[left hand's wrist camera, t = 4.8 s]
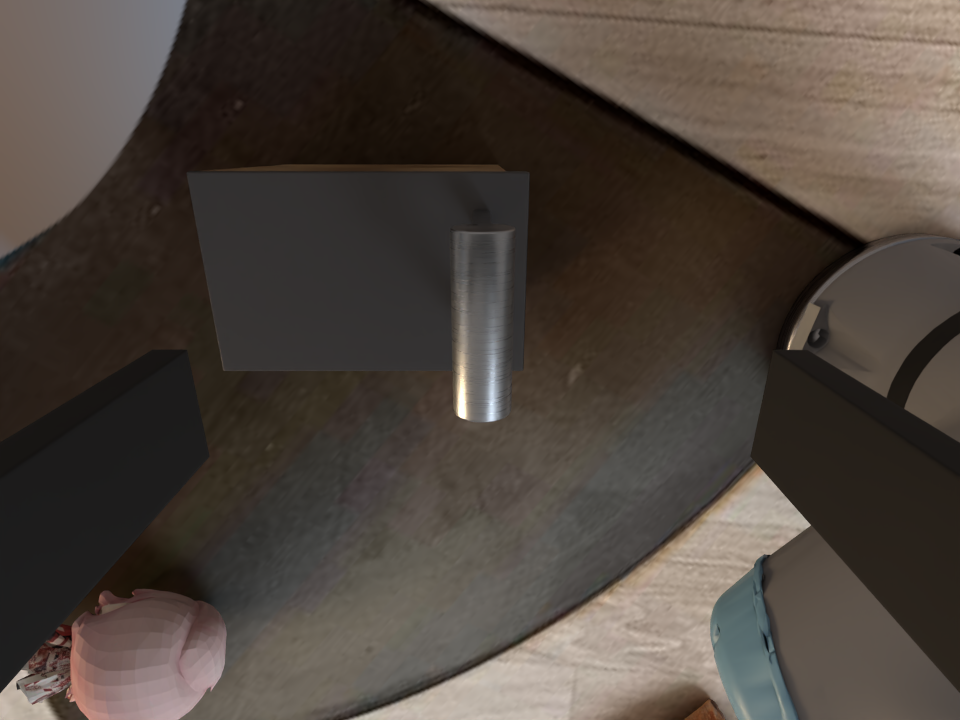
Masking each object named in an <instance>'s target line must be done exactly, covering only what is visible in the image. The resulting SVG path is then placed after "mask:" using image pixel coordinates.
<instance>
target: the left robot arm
mask: <svg viewBox="0 0 960 720" xmlns="http://www.w3.org/2000/svg"><path fill="white" fill-rule="evenodd" d="M208 458H209V452H208V447H207V442H206V438H205V433H204V428H203V424H202V419H201V414H200V409H199V405H198V400H197V395H196V390H195V386H194V381H193V376H192V372H191V367H190V362H189V357H188V353H187V350H152V351H150V352H148V353H147V354H145V355H143V356H142V357H140V358H138V359H137V360H135V361H134V362H132V363H130V364H129V365H127V366H125V367H124V368H122V369H120V370H119V371H117V372H115V373H114V374H112V375H111V376H109V377H107V378H106V379H104V380H102V381H101V382H99V383H97V384H96V385H94V386H92V387H91V388H89V389H88V390H86V391H84V392H83V393H81V394H79V395H78V396H76V397H74V398H73V399H71V400H69V401H68V402H66V403H65V404H63V405H61V406H60V407H58V408H56V409H55V410H53V411H51V412H50V413H48V414H46V415H45V416H43V417H42V418H40V419H38V420H37V421H35V422H33V423H32V424H30V425H28V426H27V427H25V428H23V429H22V430H20V431H19V432H17V433H15V434H14V435H12V436H10V437H9V438H7V439H5V440H4V441H2V442H0V693H1V692H2V691H3V689H4V688H5V687H6V686H7V685H8V684H9V683H10V681H11V680H12V679H13V678H14V677H15V676H16V675H17V674H18V672H19V671H20V670H21V669H22V668H23V667H24V666H25V665H26V663H27V662H28V661H29V660H30V659H31V658H32V657H33V655H34V654H35V653H36V652H37V651H38V650H39V649H40V648H41V646H42V645H43V644H44V643H45V642H46V641H47V640H48V639H49V637H50V636H51V635H52V634H53V633H54V632H55V631H56V629H57V628H58V627H59V626H60V625H61V624H62V623H63V622H64V620H65V619H66V618H67V617H68V616H69V615H70V614H71V613H72V611H73V610H74V609H75V608H76V607H77V606H78V605H79V603H80V602H81V601H82V600H83V599H84V598H85V597H86V596H87V594H88V593H89V592H90V591H91V590H92V589H93V588H94V587H95V585H96V584H97V583H98V582H99V581H100V580H101V579H102V577H103V576H104V575H105V574H106V573H107V572H108V571H109V570H110V568H111V567H112V566H113V565H114V564H115V563H116V562H117V560H118V559H119V558H120V557H121V556H122V555H123V554H124V553H125V551H126V550H127V549H128V548H129V547H130V546H131V545H132V544H133V542H134V541H135V540H136V539H137V538H138V537H139V536H140V534H141V533H142V532H143V531H144V530H145V529H146V528H147V527H148V525H149V524H150V523H151V522H152V521H153V520H154V519H155V518H156V516H157V515H158V514H159V513H160V512H161V511H162V510H163V508H164V507H165V506H166V505H167V504H168V503H169V502H170V501H171V499H172V498H173V497H174V496H175V495H176V494H177V493H178V492H179V490H180V489H181V488H182V487H183V486H184V485H185V484H186V482H187V481H188V480H189V479H190V478H191V477H192V476H193V475H194V473H195V472H196V471H197V470H198V469H199V468H200V467H201V465H202V464H203V463H204V462H205V461H206V460H207V459H208ZM751 458H752V459H753V460H754V461H755V462H756V463H757V464H758V466H759V467H760V468H761V469H762V470H763V471H764V472H765V473H766V475H767V476H768V477H769V478H770V479H771V480H772V481H773V482H774V484H775V485H776V486H777V487H778V488H779V489H780V490H781V492H782V493H783V494H784V495H785V496H786V497H787V498H788V499H789V501H790V502H791V503H792V504H793V505H794V506H795V507H796V508H797V510H798V511H799V512H800V513H801V514H802V515H803V516H804V518H805V519H806V520H807V521H808V522H809V523H810V524H811V526H810V527H808V528H807V529H806V530H804V531H803V532H802V533H800V534H799V535H798V536H796V537H795V538H794V539H792V540H791V541H789V542H788V543H787V544H785V545H784V546H783V547H781V548H780V549H779V550H777V551H776V552H774V553H773V554H772V555H765V554H764V555H763V556H761V557H760V558H759V559H758V560H757V561H756V563H755V565H754V568H753V569H751V570H750V571H749V572H748V573H747V574H746V575H744V576H743V577H742V578H741V579H740V580H739V581H737V582H736V583H735V584H734V585H733V586H732V587H730V588H729V589H728V590H727V591H726V592H725V593H723V594H722V596H721V597H720V598H719V599H718V600H717V602H716V604H715V606H714V608H713V611H712V616H711V621H710V635H711V641H712V646H713V650H714V657H715V661H716V665H717V668H718V671H719V674H720V677H721V680H722V683H723V686H724V688H725V691H726V693H727V696H728V698H729V700H730V703H731V705H732V707H733V709H734V712H735V714H736V716H737V718H738V720H960V240H959V239H953V238H948V237H943V236H937V235H930V234H903V235H896V236H891V237H887V238H883V239H879V240H876V241H873V242H871V243H868V244H866V245H863V246H861V247H859V248H857V249H855V250H853V251H851V252H849V253H847V254H846V255H844V256H842V257H841V258H839V259H838V260H836V261H835V262H834V263H832V264H831V265H830V266H828V267H827V268H826V269H824V270H823V271H822V272H821V273H820V274H819V275H818V276H817V277H816V278H815V279H814V280H813V281H812V282H811V283H810V284H809V285H808V286H807V287H806V288H805V290H804V291H803V292H802V293H801V295H800V296H799V297H798V299H797V300H796V302H795V303H794V305H793V307H792V308H791V310H790V312H789V314H788V315H787V318H786V320H785V322H784V324H783V327H782V330H781V333H780V336H779V340H778V344H777V350H773V353H772V357H771V362H770V367H769V372H768V376H767V381H766V386H765V390H764V395H763V400H762V405H761V409H760V414H759V419H758V424H757V428H756V433H755V438H754V442H753V447H752V452H751Z"/></svg>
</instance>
